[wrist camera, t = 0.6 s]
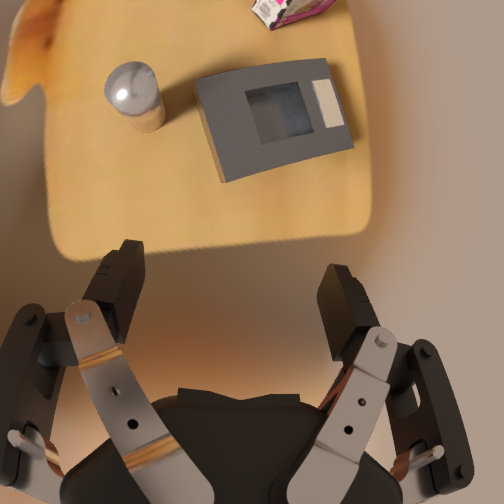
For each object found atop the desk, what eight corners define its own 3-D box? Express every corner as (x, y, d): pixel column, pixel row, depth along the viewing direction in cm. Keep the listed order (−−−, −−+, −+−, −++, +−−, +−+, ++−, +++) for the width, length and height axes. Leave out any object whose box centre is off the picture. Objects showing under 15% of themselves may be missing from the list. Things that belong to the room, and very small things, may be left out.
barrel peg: (127, 106, 29) (100, 73, 17) (160, 94, 29) (149, 54, 18) (135, 138, 30) (110, 116, 19) (169, 125, 31) (160, 97, 19)
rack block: (193, 93, 30) (194, 79, 25) (309, 70, 32) (325, 57, 27) (220, 182, 34) (226, 182, 29) (334, 150, 36) (355, 147, 31)
